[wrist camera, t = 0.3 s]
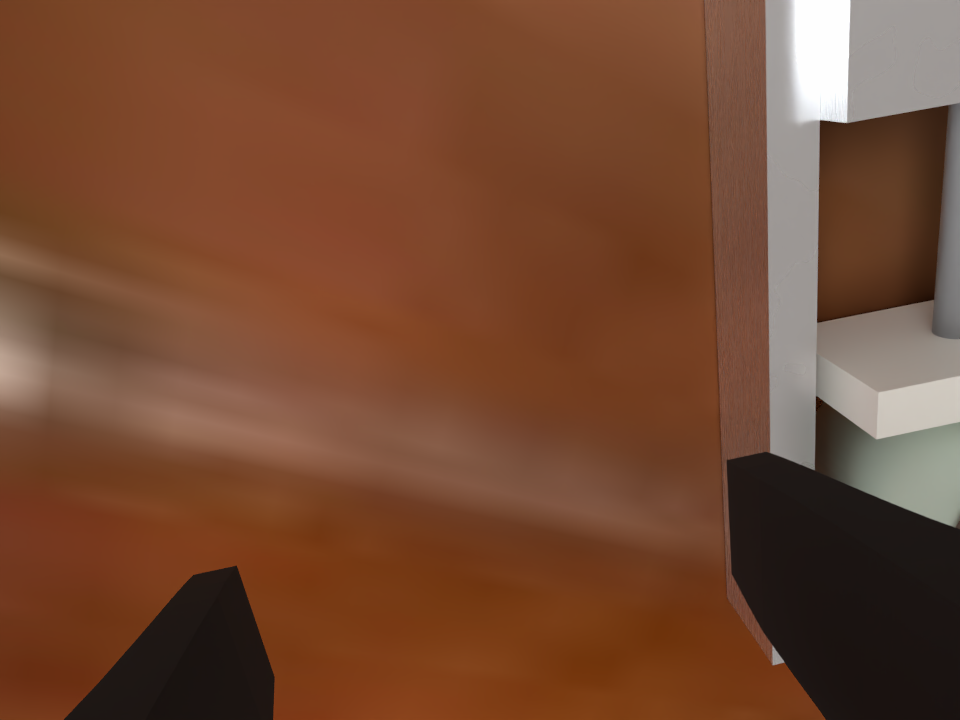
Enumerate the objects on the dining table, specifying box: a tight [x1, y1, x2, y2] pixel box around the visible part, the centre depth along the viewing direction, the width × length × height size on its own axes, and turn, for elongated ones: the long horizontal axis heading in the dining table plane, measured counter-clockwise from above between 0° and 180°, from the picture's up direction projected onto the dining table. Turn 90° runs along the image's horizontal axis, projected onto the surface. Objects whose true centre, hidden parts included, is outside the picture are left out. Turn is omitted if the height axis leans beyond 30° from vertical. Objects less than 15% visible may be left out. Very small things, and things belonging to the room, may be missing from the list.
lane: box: [704, 0, 960, 665], centre depth 20 cm, size 18×10×4 cm, turn 9°
